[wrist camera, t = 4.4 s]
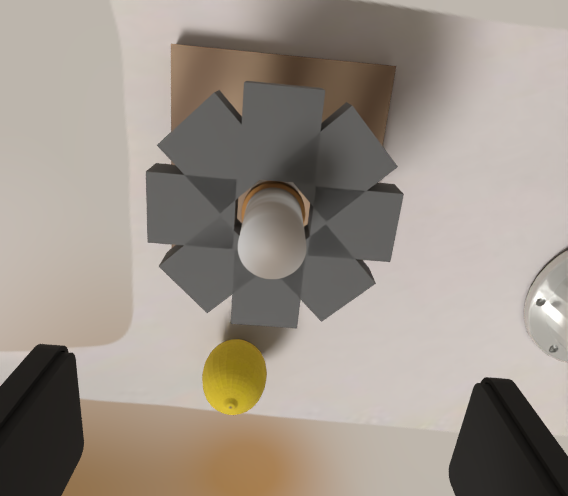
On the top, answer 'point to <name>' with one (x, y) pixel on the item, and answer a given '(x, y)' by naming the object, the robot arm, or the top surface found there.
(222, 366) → the lemon
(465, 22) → the top surface
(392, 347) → the top surface
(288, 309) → the grey flat ring
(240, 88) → the pipe stand
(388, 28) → the top surface
